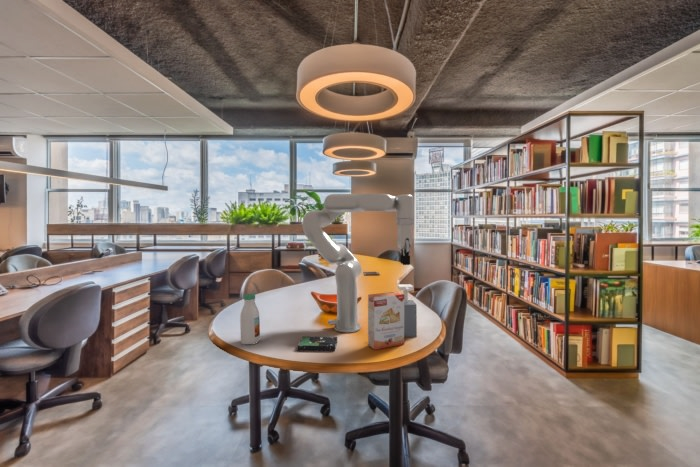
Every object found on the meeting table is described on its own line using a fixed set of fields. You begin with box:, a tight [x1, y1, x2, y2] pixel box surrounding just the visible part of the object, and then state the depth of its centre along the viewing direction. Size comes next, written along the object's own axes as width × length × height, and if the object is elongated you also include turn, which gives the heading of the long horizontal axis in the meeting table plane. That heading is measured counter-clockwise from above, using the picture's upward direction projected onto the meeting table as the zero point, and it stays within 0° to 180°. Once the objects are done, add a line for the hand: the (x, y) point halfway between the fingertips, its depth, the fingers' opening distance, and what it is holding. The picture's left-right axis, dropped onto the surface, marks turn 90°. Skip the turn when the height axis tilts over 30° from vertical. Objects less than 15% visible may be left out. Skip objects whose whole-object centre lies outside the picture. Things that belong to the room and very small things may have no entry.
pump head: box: [397, 283, 414, 303], centre depth 138 cm, size 6×9×12 cm, turn 1°
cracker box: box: [367, 291, 405, 350], centre depth 127 cm, size 14×6×21 cm, turn 114°
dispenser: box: [404, 299, 418, 338], centre depth 140 cm, size 8×8×14 cm
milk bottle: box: [239, 293, 261, 345], centre depth 132 cm, size 8×8×20 cm
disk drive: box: [296, 335, 338, 353], centre depth 127 cm, size 10×3×15 cm
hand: (405, 263), depth 139 cm, fingers open, 4 cm apart
